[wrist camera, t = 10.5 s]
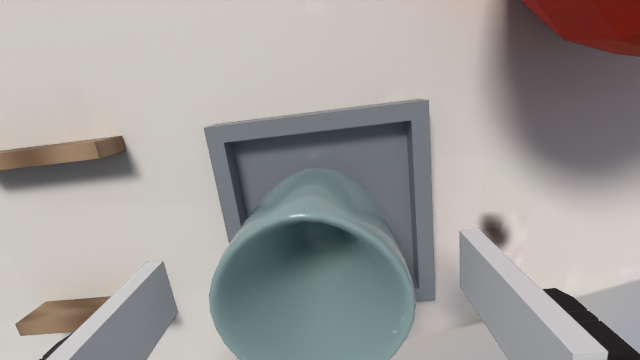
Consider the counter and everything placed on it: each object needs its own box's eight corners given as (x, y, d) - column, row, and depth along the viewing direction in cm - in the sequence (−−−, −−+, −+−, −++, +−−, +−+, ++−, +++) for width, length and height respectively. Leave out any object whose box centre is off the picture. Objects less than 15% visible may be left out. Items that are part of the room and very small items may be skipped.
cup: (316, 129, 20) (295, 167, 11) (405, 207, 21) (461, 305, 12) (242, 216, 22) (168, 314, 12) (328, 283, 23) (321, 422, 13)
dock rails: (49, 312, 26) (20, 335, 23) (-16, 152, 22) (-59, 160, 20) (169, 303, 25) (152, 326, 22) (121, 136, 21) (94, 141, 19)
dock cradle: (251, 296, 24) (244, 314, 22) (215, 124, 21) (203, 127, 19) (426, 282, 23) (435, 300, 21) (419, 98, 20) (428, 100, 18)
